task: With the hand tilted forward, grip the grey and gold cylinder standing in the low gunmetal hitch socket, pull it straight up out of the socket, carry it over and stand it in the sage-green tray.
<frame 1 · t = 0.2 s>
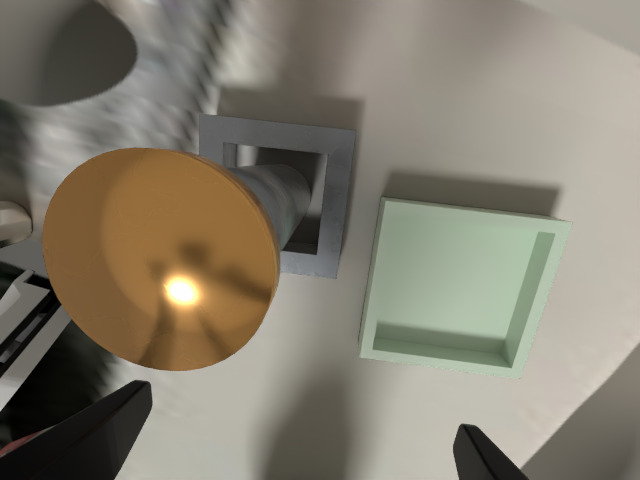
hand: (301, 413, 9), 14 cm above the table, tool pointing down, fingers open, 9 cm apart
hitch socket: (279, 196, 22), on the table
grey and gold cylinder: (279, 196, 22), resting in hitch socket
tray: (446, 282, 22), on the table
milkshake: (12, 215, 24), on the table
grey arched block: (27, 353, 27), on the table
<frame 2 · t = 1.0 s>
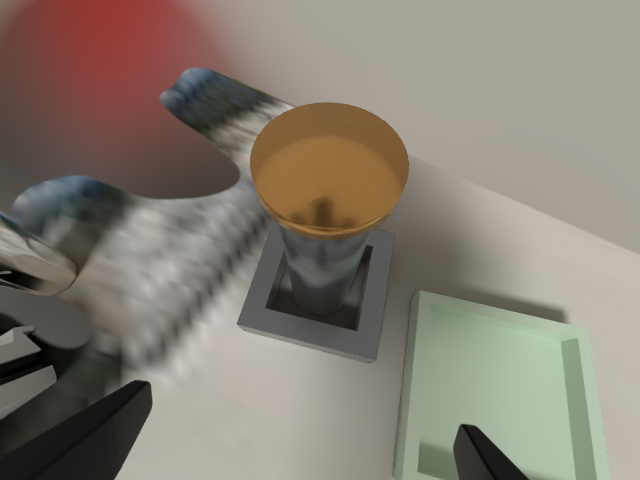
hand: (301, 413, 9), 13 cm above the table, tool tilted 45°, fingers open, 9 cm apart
hitch socket: (321, 286, 24), on the table
grey and gold cylinder: (321, 286, 24), resting in hitch socket
tray: (486, 397, 21), on the table
milkshake: (58, 272, 24), on the table
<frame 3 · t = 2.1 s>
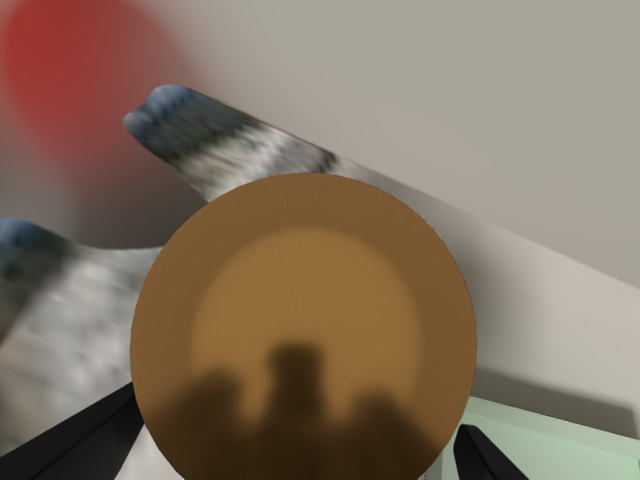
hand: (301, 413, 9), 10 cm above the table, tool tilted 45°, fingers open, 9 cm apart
grey and gold cylinder: (311, 372, 18), resting in hitch socket
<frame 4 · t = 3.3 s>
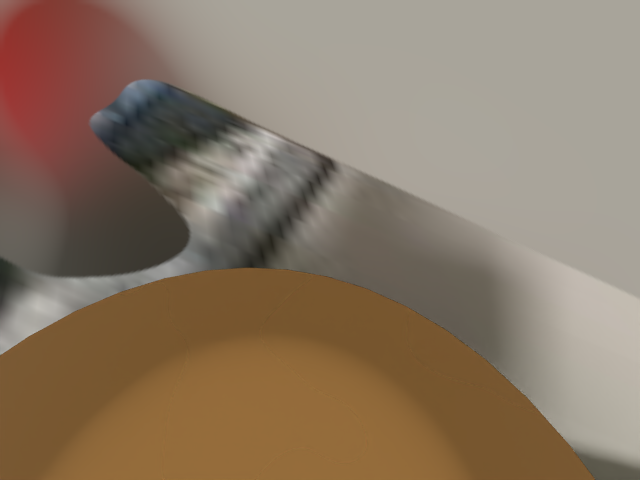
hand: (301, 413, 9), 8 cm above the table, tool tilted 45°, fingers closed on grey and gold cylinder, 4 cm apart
grey and gold cylinder: (303, 437, 15), resting in hitch socket, touching gripper
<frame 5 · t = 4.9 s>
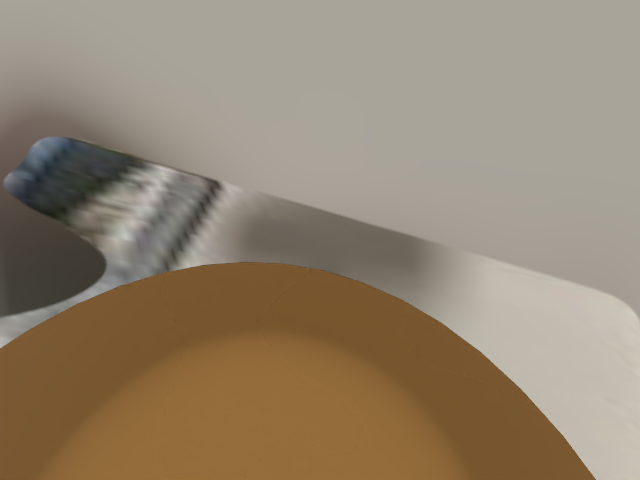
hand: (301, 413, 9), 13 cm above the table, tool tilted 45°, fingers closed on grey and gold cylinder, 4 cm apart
grey and gold cylinder: (303, 436, 15), point 6 cm above the table, touching gripper
when the fingers open (9 cm above the table, at t = 6.5 s): grey and gold cylinder stays where it is, resting on tray.
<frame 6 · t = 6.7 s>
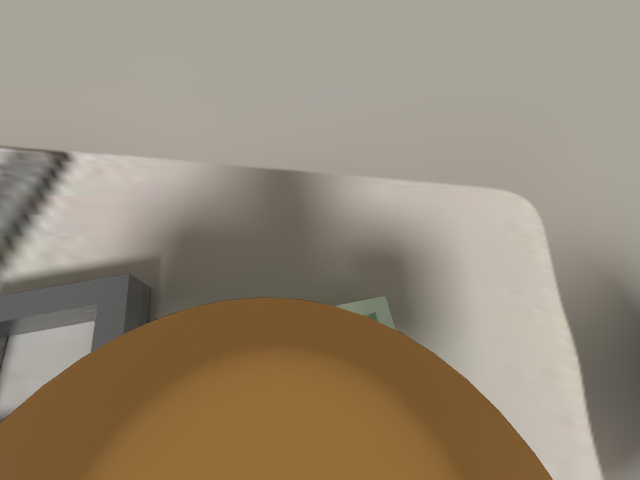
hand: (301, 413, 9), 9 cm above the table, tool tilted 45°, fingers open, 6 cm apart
hitch socket: (56, 384, 17), on the table
grey and gold cylinder: (303, 436, 15), point 1 cm above the table, touching gripper, tray
tray: (303, 433, 16), on the table
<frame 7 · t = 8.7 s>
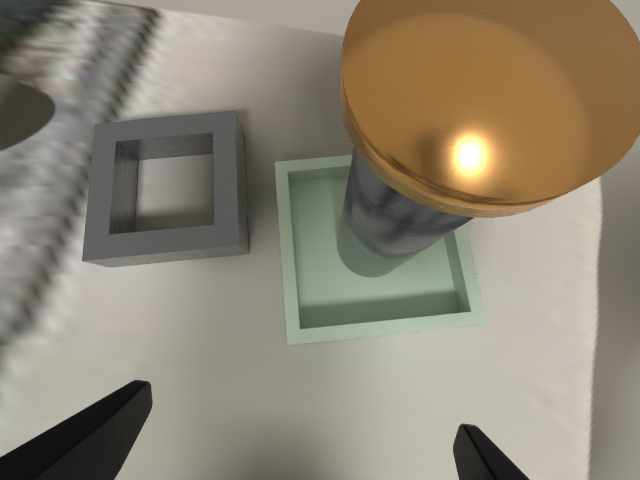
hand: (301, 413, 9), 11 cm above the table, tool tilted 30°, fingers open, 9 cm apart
hitch socket: (180, 196, 22), on the table
grey and gold cylinder: (370, 244, 20), point 1 cm above the table, touching tray
tray: (368, 245, 21), on the table
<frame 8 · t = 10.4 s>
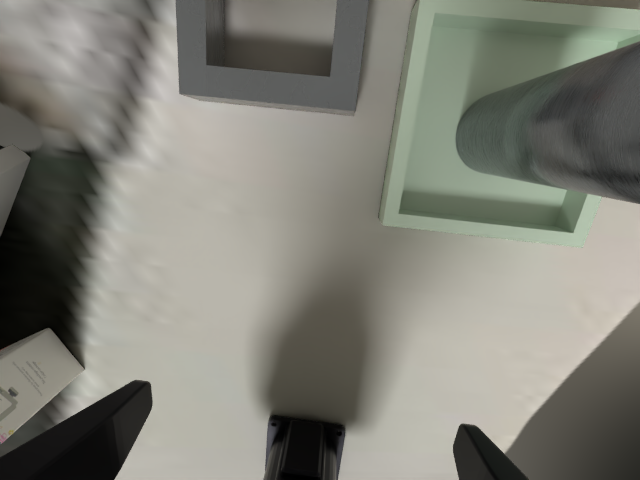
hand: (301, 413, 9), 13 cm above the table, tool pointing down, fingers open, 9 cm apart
hitch socket: (280, 17, 17), on the table
ink cartridge box: (36, 362, 26), on the table
grey and gold cylinder: (495, 134, 17), point 1 cm above the table, touching tray
tray: (490, 133, 18), on the table
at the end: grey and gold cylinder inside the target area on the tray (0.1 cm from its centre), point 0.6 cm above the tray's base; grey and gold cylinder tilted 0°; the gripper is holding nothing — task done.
